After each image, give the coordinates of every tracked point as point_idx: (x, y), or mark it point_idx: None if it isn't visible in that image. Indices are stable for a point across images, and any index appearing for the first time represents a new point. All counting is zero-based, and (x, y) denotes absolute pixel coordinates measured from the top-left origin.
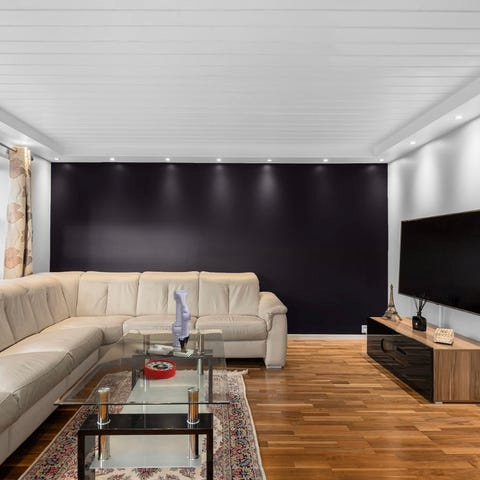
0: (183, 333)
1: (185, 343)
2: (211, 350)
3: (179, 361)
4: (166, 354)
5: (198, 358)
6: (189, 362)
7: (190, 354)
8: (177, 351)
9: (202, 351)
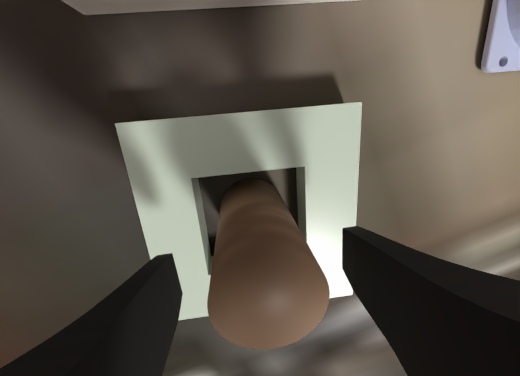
0: None
1: (287, 325)
2: None
3: (6, 275)
4: (104, 13)
5: (207, 368)
6: None
7: None
8: (208, 156)
9: None
